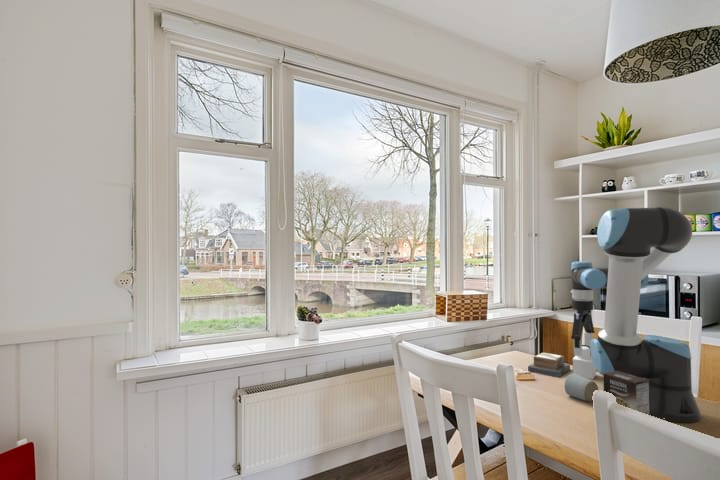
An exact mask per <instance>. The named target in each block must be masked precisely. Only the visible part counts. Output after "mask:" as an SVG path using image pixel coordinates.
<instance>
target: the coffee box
mask: <svg viewBox="0 0 720 480" xmlns="http://www.w3.org/2000/svg"><path fill="white" fill-rule="evenodd" d="M602 377H603V392H604V391H606V392H609V393H612V394H613V395H614V396H615V397H616V402H617V403H618V404H620V405H623V406H625V407H628V408H631V409H633V410H637V411H639V412H642V413H645V414H648V415H649V380H648V379H645V378H640V377H637V376H633V375H630V374H626V373H623V372H619V371H614V372H607V373H604V374H603V375H602ZM649 416H650V415H649Z"/></svg>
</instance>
